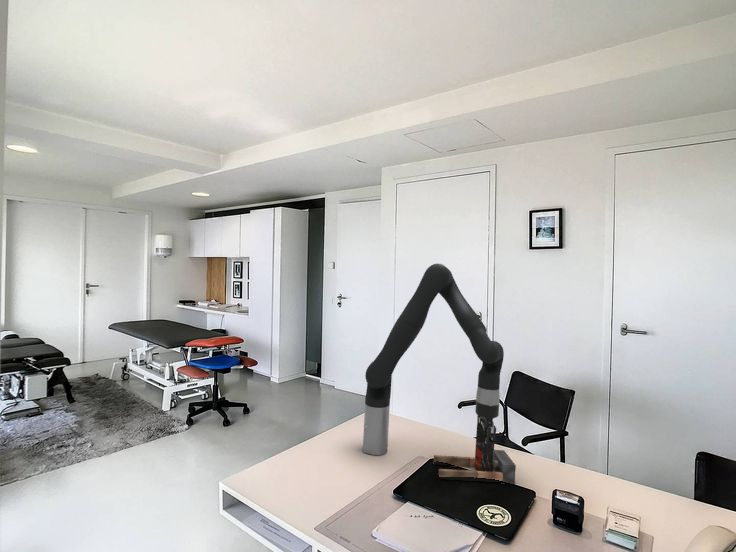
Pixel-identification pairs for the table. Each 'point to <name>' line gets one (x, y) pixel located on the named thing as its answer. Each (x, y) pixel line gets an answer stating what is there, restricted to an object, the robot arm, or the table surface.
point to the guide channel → (500, 465)
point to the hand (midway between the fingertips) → (484, 450)
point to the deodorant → (482, 452)
